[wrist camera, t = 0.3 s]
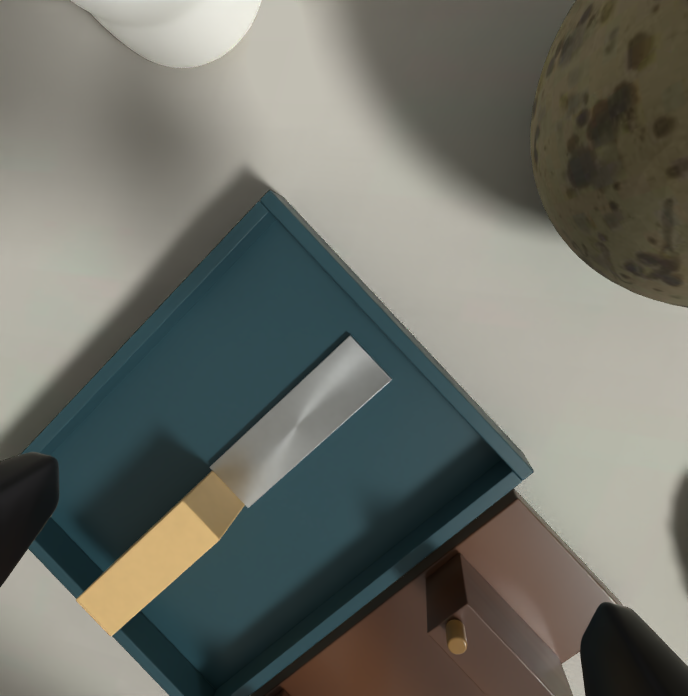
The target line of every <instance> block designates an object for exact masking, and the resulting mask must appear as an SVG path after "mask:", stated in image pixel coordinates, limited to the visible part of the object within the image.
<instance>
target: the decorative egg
mask: <svg viewBox="0 0 688 696" xmlns="http://www.w3.org/2000/svg"><path fill="white" fill-rule="evenodd" d="M530 146H531V159H532V167H533V174H534V178H535V183H536V187H537V190H538V192H539V195H540V198H541V201H542V204H543V206H544V209H545V211H546V213H547V215H548V217H549V219H550V221H551V222H552V224H553V226H554V227H555V229H556V230H557V232H558V233H559V235H560V236H561V237H562V239H563V240H564V241H565V242H566V244H567V245H568V246H569V247H570V248H571V249H572V250H573V251H574V253H575V254H576V255H577V256H578V257H579V258H581V259H582V260H583V261H584V262H585V263H586V264H587V265H589V266H590V267H591V268H592V269H594V270H595V271H596V272H598V273H599V274H601V275H602V276H604V277H605V278H607V279H609V280H610V281H612V282H614V283H616V284H618V285H620V286H622V287H624V288H626V289H628V290H630V291H632V292H634V293H637V294H639V295H642V296H645V297H648V298H650V299H653V300H657V301H661V302H664V303H668V304H672V305H676V306H682V307H687V308H688V0H576V1H575V2H574V4H573V6H572V7H571V9H570V11H569V13H568V14H567V16H566V18H565V19H564V21H563V23H562V25H561V27H560V29H559V31H558V33H557V35H556V37H555V39H554V42H553V44H552V46H551V48H550V51H549V53H548V56H547V58H546V61H545V64H544V67H543V69H542V73H541V76H540V79H539V82H538V86H537V90H536V94H535V99H534V105H533V111H532V119H531V132H530Z"/></svg>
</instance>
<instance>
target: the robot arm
mask: <svg viewBox="0 0 688 696" xmlns="http://www.w3.org/2000/svg"><path fill="white" fill-rule="evenodd" d="M58 501H59V464H58V461H57V459H56V458H54V457H53V456H49V455H45V454H41V453H37V452H28V453H25V454H22V455H19V456H15V457H12V458H9V459H6V460H3V461H0V587H1V586H2V584H3V583H4V582H5V580H6V579H7V578H8V576H9V575H10V573H11V572H12V571H13V569H14V568H15V566H16V565H17V563H18V562H19V561H20V559H21V558H22V556H23V555H24V554H25V552H26V551H27V549H28V548H29V546H30V545H31V544H32V542H33V541H34V539H35V538H36V537H37V535H38V534H39V532H40V531H41V529H42V528H43V527H44V525H45V524H46V522H47V521H48V520H49V518H50V517H51V515H52V514H53V512H54V511H55V509H56V507H57V504H58ZM580 656H581V664H582V672H583V680H584V688H585V695H586V696H688V666H687V665H686V664H685V663H684V662H683V661H682V660H681V659H680V658H679V657H678V656H677V655H676V654H675V653H674V652H673V651H672V650H671V649H670V648H669V647H668V645H667V644H666V643H665V642H664V641H663V640H662V639H661V638H660V637H659V636H658V635H657V634H656V633H655V632H654V631H653V630H652V629H651V628H650V627H649V626H648V625H647V624H646V623H645V622H644V621H643V620H642V619H641V618H640V617H639V616H638V615H637V614H636V613H635V612H634V611H633V610H632V609H630V608H628V607H625V606H621V605H617V604H614V603H610V602H603V603H601V604H600V605H599V606H598V608H597V610H596V611H595V613H594V615H593V617H592V619H591V621H590V623H589V625H588V627H587V629H586V631H585V632H584V634H583V637H582V640H581V645H580Z"/></svg>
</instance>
